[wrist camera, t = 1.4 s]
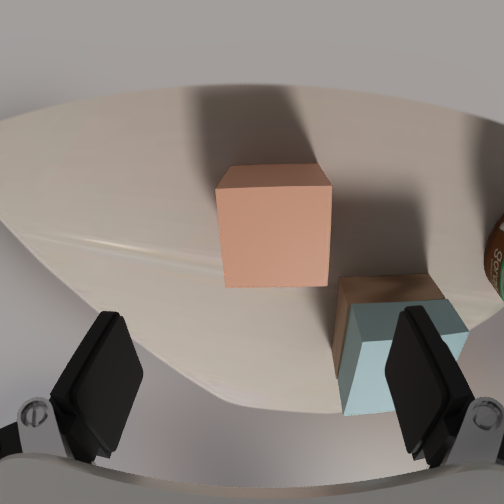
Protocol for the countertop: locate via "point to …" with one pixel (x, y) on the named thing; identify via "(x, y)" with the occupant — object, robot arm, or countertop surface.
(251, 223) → the terracotta cube
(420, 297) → the tower base block
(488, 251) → the food container
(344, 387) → the tower top block
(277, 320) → the countertop surface
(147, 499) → the robot arm
